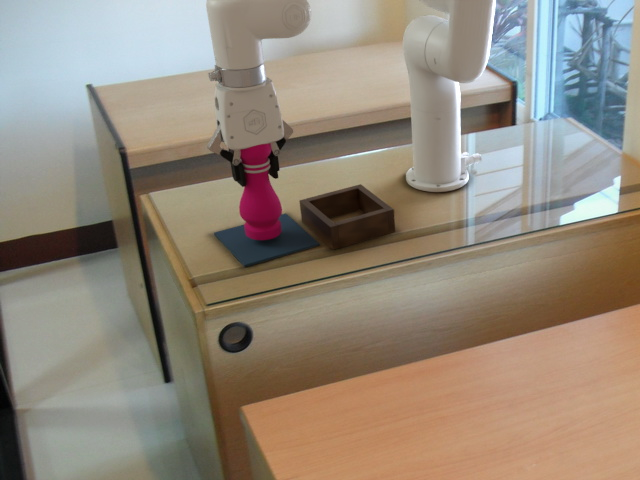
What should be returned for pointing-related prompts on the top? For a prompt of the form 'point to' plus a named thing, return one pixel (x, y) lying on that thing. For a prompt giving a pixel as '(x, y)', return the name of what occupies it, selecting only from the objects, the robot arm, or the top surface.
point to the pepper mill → (259, 195)
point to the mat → (266, 242)
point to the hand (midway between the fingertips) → (257, 178)
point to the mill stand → (352, 229)
